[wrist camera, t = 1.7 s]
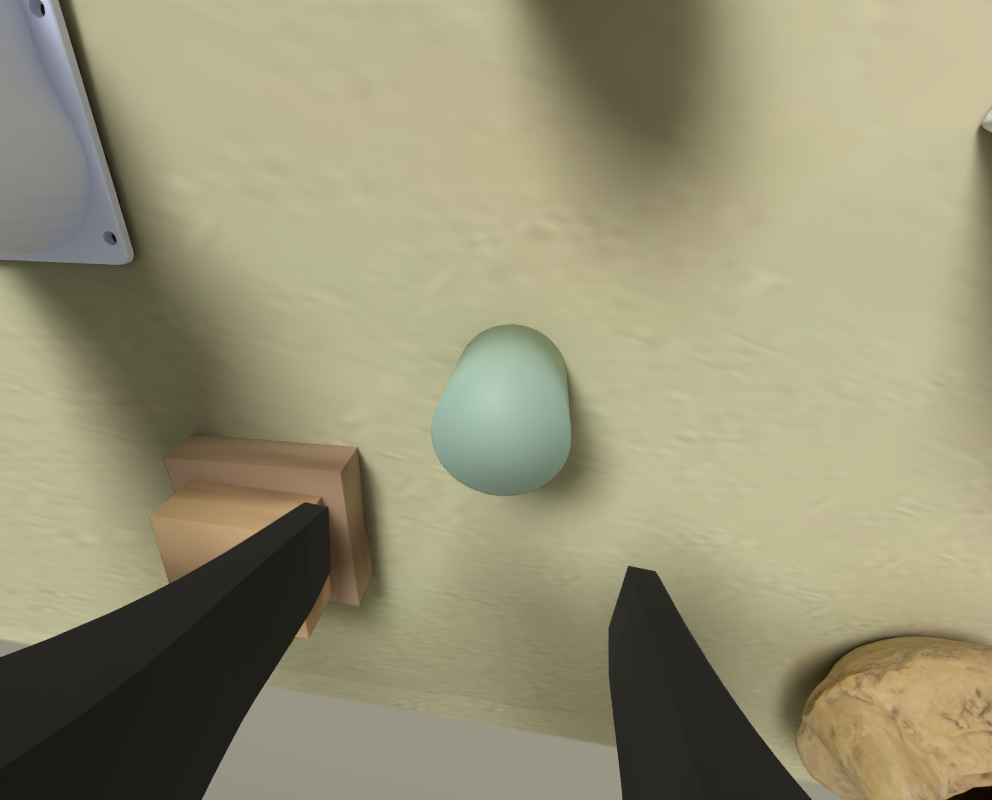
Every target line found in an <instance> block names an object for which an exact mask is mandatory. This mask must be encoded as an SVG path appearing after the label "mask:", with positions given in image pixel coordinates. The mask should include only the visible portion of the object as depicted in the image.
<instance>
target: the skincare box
mask: <svg viewBox="0 0 992 800" xmlns="http://www.w3.org/2000/svg"><path fill="white" fill-rule="evenodd" d="M982 127H983V128H984V129H986V130H988V131H990V132H992V109H991V110H990V111H989V113H988V114H987V116H986V117H985V119H984V120H983V123H982Z"/></svg>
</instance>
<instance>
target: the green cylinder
mask: <svg viewBox="0 0 992 800" xmlns="http://www.w3.org/2000/svg"><path fill="white" fill-rule="evenodd" d="M431 437H432V443H433V447H434V450H435V453H436V455H437V457H438V459H439V461H440V462H441V464H442V465H443V467H444V468H445V469H446V470H447V471H448V472H449V473H450V474H451V475H452V476H453V477H454V478H455V479H456V480H458V481H459V482H461V483H462V484H464V485H465V486H467V487H469V488H471V489H473V490H476V491H479V492H482V493H486V494H490V495H497V496H513V495H520V494H525V493H528V492H531V491H534V490H536V489H538V488H540V487H542V486H543V485H545V484H547V483H548V482H549V481H551V480H552V479H553V478H554V477H555V476H556V475H557V474H558V473H559V472H560V470H561V469H562V467H563V466H564V464H565V462H566V460H567V458H568V455H569V452H570V447H571V424H570V410H569V397H568V384H567V372H566V366H565V362H564V359H563V357H562V354H561V353H560V351H559V349H558V348H557V347H556V345H555V344H554V343H553V342H552V341H551V340H550V339H549V338H548V337H546V336H545V335H543V334H542V333H540V332H538V331H537V330H534V329H532V328H529V327H526V326H522V325H500V326H496V327H492V328H490V329H487V330H485V331H483V332H482V333H480V334H479V335H477V336H476V337H475V338H473V340H472V341H471V342H470V343H469V344H468V345H467V347H466V348H465V350H464V351H463V353H462V355H461V357H460V359H459V362H458V364H457V366H456V368H455V370H454V372H453V374H452V376H451V379H450V381H449V383H448V385H447V387H446V389H445V391H444V393H443V395H442V398H441V400H440V402H439V404H438V406H437V408H436V410H435V413H434V416H433V420H432V425H431Z"/></svg>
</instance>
